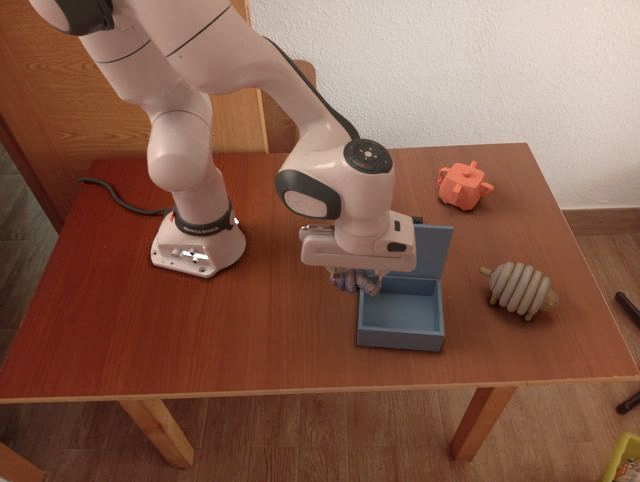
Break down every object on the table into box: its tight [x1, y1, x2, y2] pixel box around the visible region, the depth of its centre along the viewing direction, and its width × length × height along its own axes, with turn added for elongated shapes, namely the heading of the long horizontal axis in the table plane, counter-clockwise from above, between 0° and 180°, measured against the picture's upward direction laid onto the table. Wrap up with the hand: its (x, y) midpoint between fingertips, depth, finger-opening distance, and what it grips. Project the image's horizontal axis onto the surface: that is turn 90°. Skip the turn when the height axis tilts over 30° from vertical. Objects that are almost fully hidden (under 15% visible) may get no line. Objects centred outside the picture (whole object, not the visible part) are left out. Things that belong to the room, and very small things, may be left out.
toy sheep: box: [478, 261, 561, 322], centre depth 100 cm, size 11×17×11 cm, turn 61°
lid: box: [364, 215, 455, 279], centre depth 98 cm, size 14×17×5 cm
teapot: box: [437, 160, 495, 211], centre depth 121 cm, size 12×12×10 cm
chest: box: [356, 273, 446, 353], centre depth 100 cm, size 14×17×7 cm
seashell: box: [329, 268, 382, 297], centre depth 91 cm, size 5×5×10 cm
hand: (356, 276), depth 90 cm, fingers closed on seashell, 6 cm apart
